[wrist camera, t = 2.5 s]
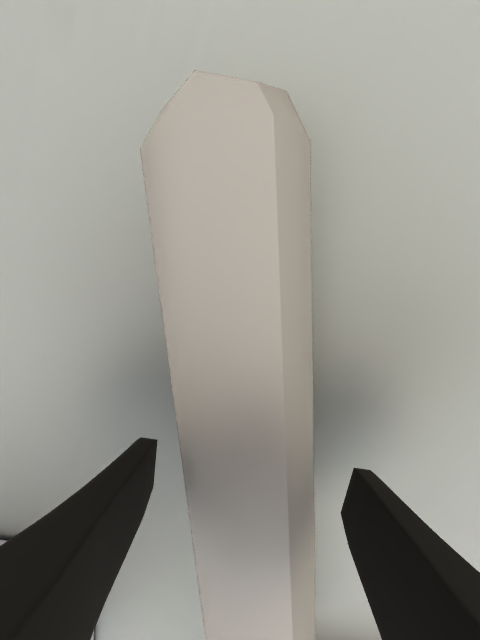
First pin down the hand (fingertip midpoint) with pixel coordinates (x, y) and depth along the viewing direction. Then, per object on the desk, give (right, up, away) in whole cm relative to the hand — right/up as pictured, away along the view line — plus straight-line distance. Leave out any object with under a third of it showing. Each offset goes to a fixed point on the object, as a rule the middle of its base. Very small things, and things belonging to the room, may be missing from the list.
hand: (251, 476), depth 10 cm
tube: (0, +1, +3) cm, 4 cm away
